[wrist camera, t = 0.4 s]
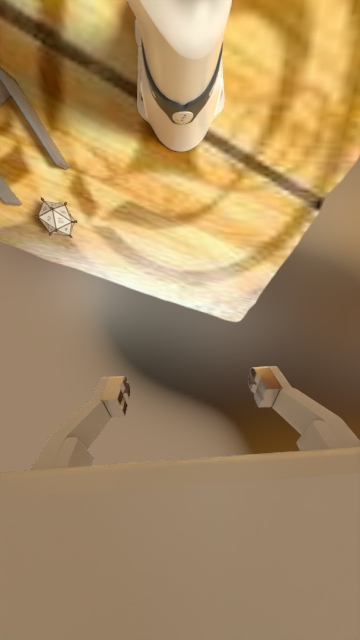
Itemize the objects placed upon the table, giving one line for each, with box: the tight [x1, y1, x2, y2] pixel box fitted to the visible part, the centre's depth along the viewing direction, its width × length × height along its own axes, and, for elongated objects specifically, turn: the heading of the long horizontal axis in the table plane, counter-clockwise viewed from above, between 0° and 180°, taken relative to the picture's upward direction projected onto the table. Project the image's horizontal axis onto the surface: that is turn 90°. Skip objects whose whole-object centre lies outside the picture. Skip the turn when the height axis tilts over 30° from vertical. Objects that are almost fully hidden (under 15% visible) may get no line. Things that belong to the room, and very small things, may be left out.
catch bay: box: [0, 67, 69, 206], centre depth 37 cm, size 15×18×4 cm
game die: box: [34, 198, 77, 238], centre depth 43 cm, size 9×8×10 cm
